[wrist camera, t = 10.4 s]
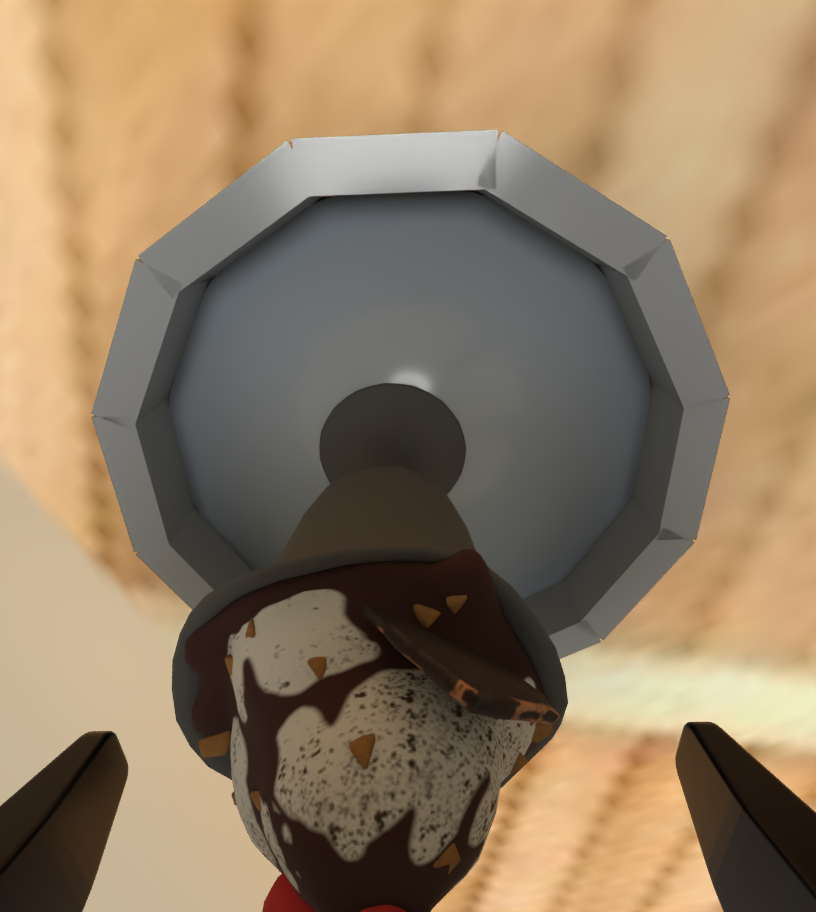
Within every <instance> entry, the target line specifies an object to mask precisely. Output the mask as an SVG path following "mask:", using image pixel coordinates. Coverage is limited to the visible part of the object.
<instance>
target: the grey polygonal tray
mask: <svg viewBox="0 0 816 912" xmlns="http://www.w3.org/2000/svg"><path fill="white" fill-rule="evenodd" d="M468 190H473V191H474V192H476V193H477V194H476V193H472V192H466V191H468ZM328 196H334V197H330V198H327V197H328ZM325 198H327V199H325ZM665 238H666V235H664V234H663V233H661V232H660V231H658V230H657V229H655V228H654V227H652V226H650V225H649V224H647V223H646V222H644V221H643V220H641V219H640V218H638V217H636V216H635V215H633V214H632V213H630V212H629V211H627V210H626V209H624V208H622V207H621V206H619V205H618V204H616V203H615V202H613V201H611V200H610V199H608V198H607V197H605V196H604V195H602V194H601V193H599V192H597V191H596V190H594V189H593V188H591V187H590V186H588V185H587V184H585V183H583V182H582V181H580V180H579V179H577V178H576V177H574V176H572V175H571V174H569V173H568V172H566V171H565V170H563V169H562V168H560V167H558V166H557V165H555V164H554V163H552V162H551V161H549V160H548V159H546V158H544V157H543V156H541V155H540V154H538V153H537V152H535V151H534V150H532V149H530V148H529V147H527V146H526V145H524V144H523V143H521V142H519V141H518V140H516V139H515V138H513V137H512V136H510V135H509V134H507V133H505V132H504V131H502V132H501V133H500V134H498V130H477V131H454V132H431V133H408V134H385V135H362V136H339V137H316V138H293V139H292V142H290V141H285V142H284V143H283V144H282V145H280V146H279V147H278V148H276V149H275V150H274V151H272V152H271V153H270V154H269V155H267V156H266V157H265V158H263V159H262V160H261V161H260V162H258V163H257V164H256V165H254V166H253V167H252V168H251V169H249V170H248V171H247V172H245V173H244V174H243V175H242V176H240V177H239V178H238V179H236V180H235V181H234V182H233V183H231V184H230V185H229V186H227V187H226V188H225V189H224V190H222V191H221V192H220V193H218V194H217V195H216V196H215V197H213V198H212V199H211V200H209V201H208V202H207V203H206V204H204V205H203V206H202V207H200V208H199V209H198V210H197V211H195V212H194V213H193V214H191V215H190V216H189V217H188V218H186V219H185V220H184V221H182V222H181V223H180V224H179V225H177V226H176V227H175V228H173V229H172V230H171V231H170V232H168V233H167V234H166V235H164V236H163V237H162V238H160V239H159V240H158V241H157V242H155V243H154V244H153V245H151V246H150V247H149V248H148V249H146V250H145V251H144V252H142V253H141V254H140V255H139V258H140V259H136V260H135V264H134V267H133V271H132V274H131V278H130V281H129V285H128V288H127V292H126V295H125V298H124V302H123V305H122V309H121V312H120V316H119V319H118V323H117V326H116V330H115V333H114V337H113V340H112V344H111V347H110V351H109V354H108V358H107V361H106V365H105V368H104V372H103V375H102V379H101V382H100V386H99V389H98V393H97V396H96V400H95V403H94V407H93V410H92V413H91V414H94V416H93V417H92V420H93V423H94V426H95V430H96V433H97V436H98V439H99V442H100V445H101V449H102V452H103V455H104V458H105V461H106V464H107V467H108V471H109V474H110V477H111V480H112V483H113V486H114V490H115V493H116V496H117V499H118V502H119V505H120V508H121V512H122V515H123V518H124V521H125V524H126V527H127V531H128V534H129V537H130V540H131V543H132V546H133V549H134V552H138V553H137V554H136V555H137V556H138V557H139V558H140V559H141V560H142V561H143V562H144V563H145V564H146V565H147V566H148V567H149V568H150V569H151V570H152V571H153V572H154V573H155V574H156V575H157V576H158V577H159V578H161V579H162V580H163V581H164V582H165V583H166V584H167V585H168V586H169V587H170V588H171V589H172V590H173V591H174V592H175V593H176V594H177V595H178V596H179V597H180V598H181V599H182V600H183V601H184V602H185V603H186V604H187V605H188V606H189V607H190V608H191V609H192V610H193V609H194V608H195V607H196V606H197V605H198V604H199V602H200V601H201V600H202V599H203V598H204V597H205V596H206V595H207V594H209V593H210V592H212V591H214V590H216V589H217V588H219V587H221V586H223V585H225V584H226V583H228V582H230V581H232V580H234V579H236V578H239V577H241V576H243V575H245V574H248V573H250V572H252V571H254V570H256V569H259V568H261V567H265V566H269V565H273V564H274V563H275V562H276V561H277V559H278V558H279V556H280V554H281V553H282V551H283V549H284V547H285V546H286V544H287V542H288V541H289V539H290V537H291V536H292V534H293V532H294V530H295V529H296V527H297V525H298V524H299V522H300V520H301V519H302V517H303V515H304V513H305V512H306V511H307V510H308V508H309V507H310V506H311V505H312V504H313V502H314V501H315V500H316V499H317V498H318V496H319V495H320V494H321V493H322V492H323V491H324V490H325V488H326V487H327V486H328V485H330V483H329V481H328V479H327V477H326V474H325V472H324V470H323V467H322V464H321V461H320V452H319V444H320V436H321V431H322V428H323V426H324V424H325V422H326V420H327V418H328V416H329V415H330V413H331V412H332V410H333V408H334V407H335V406H337V405H338V404H339V403H340V402H341V401H342V400H343V399H345V398H346V397H348V396H349V395H351V394H352V393H354V392H355V391H357V390H360V389H363V388H366V387H369V386H372V385H377V384H382V383H396V384H405V385H410V386H416V387H418V388H420V389H422V390H424V391H427V392H429V393H431V394H432V395H434V396H435V397H437V398H439V399H440V400H442V401H443V402H444V403H445V405H446V406H447V407H448V408H449V409H450V410H451V411H452V413H453V414H454V415H455V417H456V418H457V420H458V421H459V423H460V425H461V428H462V431H463V434H464V439H465V444H466V455H465V463H464V467H463V470H462V474H461V476H460V477H459V479H458V481H457V482H456V484H455V486H454V487H453V488H452V489H451V491H450V492H449V493H448V494H447V496H448V497H449V499H450V500H451V502H452V503H453V505H454V506H455V508H456V510H457V511H458V513H459V515H460V516H461V518H462V520H463V521H464V523H465V525H466V526H467V528H468V531H469V534H470V536H471V539H472V541H473V544H474V547H475V549H476V552H478V553H479V554H480V555H481V556H482V558H483V559H484V561H485V562H486V564H487V566H488V567H489V568H490V569H492V570H493V571H494V572H495V573H496V574H498V575H499V576H500V577H501V578H503V579H504V580H505V581H506V582H507V583H509V584H510V585H511V586H512V587H513V588H514V589H515V590H516V592H517V593H518V594H519V595H520V597H521V598H522V599H523V601H524V602H525V603H526V604H527V606H528V607H529V608H530V609H531V611H532V612H533V613H534V614H535V616H536V617H537V619H538V620H539V622H540V623H541V625H542V627H543V628H544V630H545V631H546V633H547V634H548V636H549V637H550V639H551V641H552V642H553V644H554V645H555V647H556V650H557V653H558V656H559V659H560V658H563V657H565V656H568V655H570V654H573V653H575V652H577V651H580V650H582V649H585V648H587V647H589V646H592V645H594V644H597V643H599V642H601V641H600V639H603V640H604V639H605V638H606V637H607V636H608V635H609V633H610V632H611V631H612V630H613V629H614V628H615V627H616V626H617V625H618V624H619V623H620V622H621V621H622V620H623V618H624V617H625V616H626V615H627V614H628V613H629V612H630V611H631V610H632V609H633V608H634V607H635V606H636V605H637V603H638V602H639V601H640V600H641V599H642V598H643V597H644V596H645V595H646V594H647V593H648V592H649V591H650V589H651V588H652V587H653V586H654V585H655V584H656V583H657V582H658V581H659V580H660V579H661V578H662V577H663V576H664V574H665V573H666V572H667V571H668V570H669V569H670V568H671V567H672V566H673V565H674V564H675V563H676V562H677V561H678V559H679V558H680V557H681V556H682V555H683V554H684V553H685V552H686V551H687V550H688V549H689V548H690V547H691V546H692V544H693V543H694V541H693V539H696V537H697V533H698V529H699V525H700V521H701V517H702V512H703V508H704V504H705V500H706V496H707V492H708V488H709V483H710V479H711V475H712V471H713V467H714V463H715V458H716V454H717V450H718V446H719V442H720V438H721V433H722V429H723V425H724V421H725V417H726V413H727V408H728V404H729V400H730V398H728V397H726V396H728V395H730V394H729V392H728V389H727V387H726V384H725V381H724V379H723V376H722V374H721V371H720V368H719V366H718V363H717V361H716V358H715V356H714V353H713V350H712V348H711V345H710V343H709V340H708V337H707V335H706V332H705V330H704V327H703V324H702V322H701V319H700V317H699V314H698V312H697V309H696V306H695V304H694V301H693V299H692V296H691V293H690V291H689V288H688V286H687V283H686V280H685V278H684V275H683V273H682V270H681V268H680V265H679V262H678V260H677V257H676V255H675V252H674V249H673V247H672V244H671V242H670V240H669V239H665ZM599 638H600V639H599Z"/></svg>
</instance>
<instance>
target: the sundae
mask: <svg viewBox="0 0 816 912" xmlns="http://www.w3.org/2000/svg"><path fill="white" fill-rule="evenodd" d="M319 452H320V461H321V464H322V467H323V470H324V472H325V474H326V477H327V479H328V481H329V483H330V485H328V486H327V487H326V488H325V490H324V491H323V492H322V493H321V494H320V495H319V496H318V498H317V499H316V500H315V501H314V502H313V504H312V505H311V506H310V507H309V508H308V510H307V511H306V512H305V513H304V515H303V517H302V519H301V520H300V522H299V524H298V525H297V527H296V529H295V530H294V532H293V534H292V536H291V537H290V539H289V541H288V542H287V544H286V546H285V547H284V549H283V551H282V553H281V554H280V556H279V558H278V559H277V561H276V562H275V563H274V564H273V565H269V566H265V567H261V568H259V569H256V570H254V571H252V572H250V573H248V574H245V575H243V576H241V577H239V578H236V579H234V580H232V581H230V582H228V583H226V584H225V585H223V586H221V587H219V588H217V589H216V590H214V591H212V592H210V593H209V594H207V595H206V596H205V597H204V598H203V599H202V600H201V601H200V602H199V604H198V605H197V606H196V607H195V608H194V609H193V610H192V612H191V613H190V614H189V616H188V618H187V620H186V622H185V624H184V626H183V629H182V631H181V633H180V635H179V639H178V643H177V646H176V650H175V654H174V658H173V666H172V669H173V670H172V693H173V700H174V707H175V714H176V721H177V722H178V724H179V726H180V728H181V730H182V732H183V734H184V735H185V738H186V739H187V741H188V743H189V745H190V747H191V748H192V749H193V750H194V751H195V752H196V753H197V755H198V756H199V757H200V758H201V759H202V760H203V761H204V762H205V764H206V765H207V766H208V767H210V768H211V769H213V770H215V771H217V772H219V773H220V774H222V775H224V776H226V777H227V778H229V779H231V780H232V782H233V787H234V792H233V793H232V798H233V801H234V804H235V805H236V806H237V808H238V811H239V814H240V817H241V819H242V821H243V823H244V826H245V828H246V831H247V833H248V834H249V836H250V839H251V841H252V842H253V844H254V845H255V846H256V847H257V848H258V849H259V851H260V852H261V853H262V854H263V855H264V856H265V857H266V858H267V859H268V860H269V861H270V862H271V863H272V864H273V865H274V866H275V867H276V868H277V869H278V870H279V871H280V872H281V873H282V874H281V875H280V876H279V877H278V878H277V880H276V881H275V883H274V885H273V886H272V888H271V890H270V892H269V894H268V896H267V897H266V899H265V901H264V906H263V912H431V910H432V909H433V907H434V906H435V905H436V904H437V903H438V902H439V901H440V900H441V899H442V898H443V897H444V896H445V895H446V894H447V893H448V892H449V891H450V890H452V889H453V888H454V887H455V886H456V885H457V884H458V883H459V882H460V881H461V880H462V879H463V878H464V877H465V876H466V875H467V873H468V872H469V871H470V870H471V868H472V867H473V866H474V865H475V863H476V862H477V861H478V860H479V857H480V854H481V852H482V849H483V846H484V844H485V841H486V839H487V836H488V833H489V831H490V828H491V825H492V823H493V820H494V817H495V814H496V809H497V803H498V797H499V791H500V788H501V787H503V786H504V785H505V784H506V783H507V782H508V781H509V780H510V779H511V778H512V777H513V776H514V775H515V774H516V773H517V772H518V771H519V770H520V769H521V768H522V767H523V766H524V765H525V764H527V763H528V762H529V761H530V760H531V759H532V758H533V757H534V756H535V755H536V754H537V753H538V752H539V751H540V750H541V749H542V748H543V747H544V746H545V745H546V744H547V743H548V742H549V741H550V740H551V739H552V738H553V736H554V735H555V733H556V731H557V730H558V728H559V726H560V725H561V722H562V719H563V716H564V713H565V710H566V707H567V704H568V699H567V691H566V682H565V676H564V672H563V669H562V666H561V663H560V659H559V656H558V653H557V650H556V647H555V645H554V644H553V642H552V641H551V639H550V637H549V636H548V634H547V633H546V631H545V630H544V628H543V627H542V625H541V623H540V622H539V620H538V619H537V617H536V616H535V614H534V613H533V612H532V611H531V609H530V608H529V607H528V606H527V604H526V603H525V602H524V601H523V599H522V598H521V597H520V595H519V594H518V593H517V592H516V590H515V589H514V588H513V587H512V586H511V585H510V584H509V583H507V582H506V581H505V580H504V579H503V578H501V577H500V576H499V575H498V574H496V573H495V572H494V571H493V570H492V569H490V568H489V567H488V566H487V564H486V562H485V561H484V559H483V558H482V556H481V555H480V554H479V553H478V552H476V549H475V547H474V544H473V541H472V539H471V536H470V534H469V531H468V528H467V526H466V525H465V523H464V521H463V520H462V518H461V516H460V515H459V513H458V511H457V510H456V508H455V506H454V505H453V503H452V502H451V500H450V499H449V497H448V496H447V494H448V493H449V492H450V491H451V489H452V488H453V487H454V486H455V484H456V482H457V481H458V479H459V477H460V476H461V474H462V470H463V467H464V463H465V455H466V444H465V439H464V434H463V431H462V428H461V425H460V423H459V421H458V420H457V418H456V417H455V415H454V414H453V413H452V411H451V410H450V409H449V408H448V407H447V406H446V405H445V403H444V402H443V401H442V400H440V399H439V398H437V397H435V396H434V395H432V394H431V393H429V392H427V391H424V390H422V389H420V388H418V387H416V386H410V385H405V384H396V383H382V384H377V385H372V386H369V387H366V388H363V389H360V390H357V391H355V392H354V393H352V394H351V395H349V396H348V397H346V398H345V399H343V400H342V401H341V402H340V403H339V404H338V405H337V406H335V407H334V408H333V410H332V412H331V413H330V415H329V416H328V418H327V420H326V422H325V424H324V426H323V428H322V431H321V436H320V444H319Z"/></svg>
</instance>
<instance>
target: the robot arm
mask: <svg viewBox="0 0 816 912" xmlns="http://www.w3.org/2000/svg"><path fill="white" fill-rule="evenodd" d="M676 769H677V773H678V776H679V779H680V783H681V786H682V789H683V792H684V795H685V798H686V802H687V805H688V808H689V811H690V814H691V818H692V821H693V824H694V827H695V830H696V834H697V837H698V840H699V843H700V846H701V850H702V853H703V856H704V859H705V862H706V865H707V868H708V871H709V874H710V877H711V880H712V883H713V886H714V889H715V891H716V894H717V896H718V899H719V901H720V904H721V906H722V909H723V911H724V912H816V812H815V811H813V810H812V809H811V808H810V807H809V806H808V805H807V804H806V803H804V802H803V801H802V800H801V799H800V798H799V797H798V796H797V795H796V794H794V793H793V792H792V791H791V790H790V789H789V788H788V787H787V786H785V785H784V784H783V783H782V782H781V781H780V780H779V779H778V778H776V777H775V776H774V775H773V774H772V773H771V772H770V771H769V770H767V769H766V768H765V767H764V766H763V765H762V764H761V763H760V762H758V761H757V760H756V759H755V758H754V757H753V756H752V755H751V754H750V753H748V752H747V751H746V750H745V749H744V748H743V747H742V746H741V745H739V744H738V743H737V742H736V741H735V740H734V739H733V738H732V737H730V736H729V735H728V734H727V733H726V732H725V731H724V730H723V729H721V728H720V727H719V726H718V725H716V724H714V723H712V722H688V723H687V724H685V725H684V728H683V731H682V734H681V738H680V742H679V745H678V749H677V752H676ZM127 776H128V763H127V760H126V757H125V755H124V753H123V750H122V748H121V745H120V743H119V740H118V738H117V736H116V734H115V733H113V732H112V731H92V732H88V733H85V734H84V735H82V736H81V737H79V739H77V740H76V741H75V742H74V743H73V744H71V745H70V746H69V747H68V748H67V749H66V750H64V751H63V752H62V753H61V754H60V755H59V756H58V757H56V758H55V759H54V760H53V761H52V762H51V763H49V764H48V765H47V766H46V767H45V768H44V769H43V770H41V771H40V772H39V773H38V774H37V775H36V776H34V777H33V778H32V779H31V780H30V781H29V782H28V783H26V784H25V785H24V786H23V787H22V788H21V789H20V790H18V791H17V792H16V793H15V794H14V795H13V796H11V797H10V798H9V799H8V800H7V801H6V802H4V803H3V804H2V805H1V806H0V912H82V911H83V909H84V906H85V904H86V901H87V899H88V896H89V894H90V891H91V889H92V886H93V883H94V880H95V877H96V874H97V871H98V868H99V865H100V862H101V859H102V856H103V852H104V849H105V846H106V843H107V840H108V837H109V833H110V830H111V827H112V824H113V821H114V818H115V815H116V812H117V809H118V805H119V802H120V799H121V796H122V793H123V790H124V787H125V783H126V780H127Z"/></svg>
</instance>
